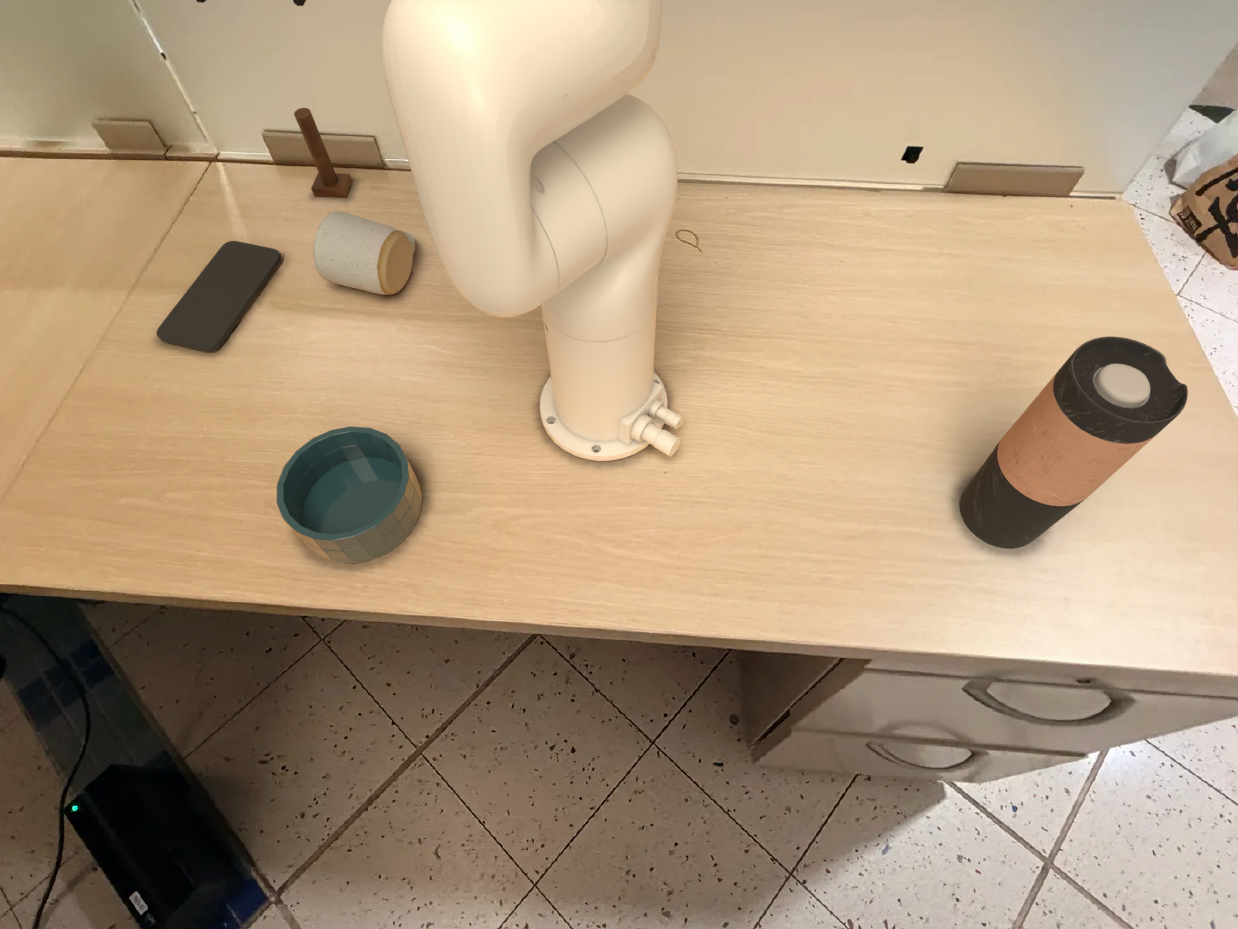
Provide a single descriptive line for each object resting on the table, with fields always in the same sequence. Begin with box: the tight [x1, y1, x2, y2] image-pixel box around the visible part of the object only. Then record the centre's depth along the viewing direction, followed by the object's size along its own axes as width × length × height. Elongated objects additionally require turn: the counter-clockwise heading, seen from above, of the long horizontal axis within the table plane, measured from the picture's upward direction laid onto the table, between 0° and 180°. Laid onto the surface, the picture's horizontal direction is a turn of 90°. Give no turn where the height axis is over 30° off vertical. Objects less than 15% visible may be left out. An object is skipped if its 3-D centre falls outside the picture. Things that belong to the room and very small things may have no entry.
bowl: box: [276, 426, 423, 564], centre depth 65 cm, size 11×11×5 cm
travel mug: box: [959, 335, 1189, 549], centre depth 58 cm, size 8×8×20 cm
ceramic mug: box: [312, 210, 416, 296], centre depth 79 cm, size 11×8×8 cm
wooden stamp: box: [293, 107, 353, 199], centre depth 86 cm, size 4×3×10 cm
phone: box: [156, 240, 283, 353], centre depth 80 cm, size 7×1×15 cm
